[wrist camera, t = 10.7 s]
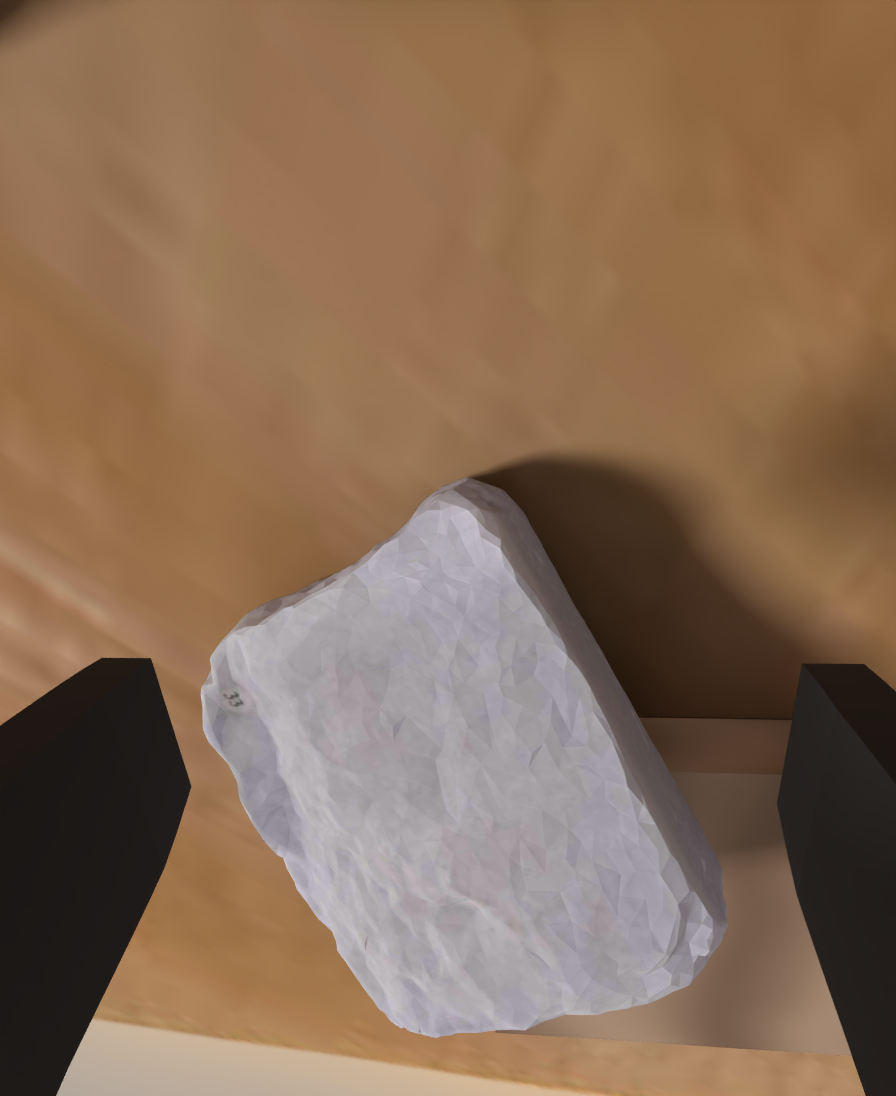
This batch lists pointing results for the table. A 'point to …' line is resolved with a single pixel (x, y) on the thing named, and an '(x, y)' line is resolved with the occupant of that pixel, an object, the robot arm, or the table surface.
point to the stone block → (465, 781)
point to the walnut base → (734, 908)
